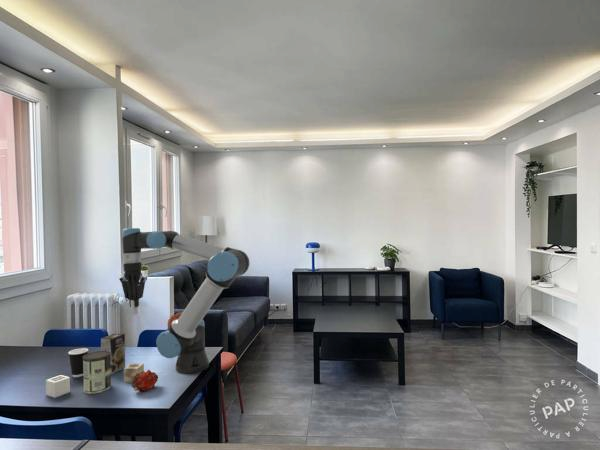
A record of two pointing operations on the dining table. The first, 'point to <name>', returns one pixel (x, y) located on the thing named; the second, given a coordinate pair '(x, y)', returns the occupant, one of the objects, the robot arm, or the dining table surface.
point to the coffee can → (97, 372)
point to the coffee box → (115, 350)
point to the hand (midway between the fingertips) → (134, 314)
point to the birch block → (132, 371)
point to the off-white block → (57, 386)
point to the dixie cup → (77, 361)
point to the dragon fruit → (144, 381)
